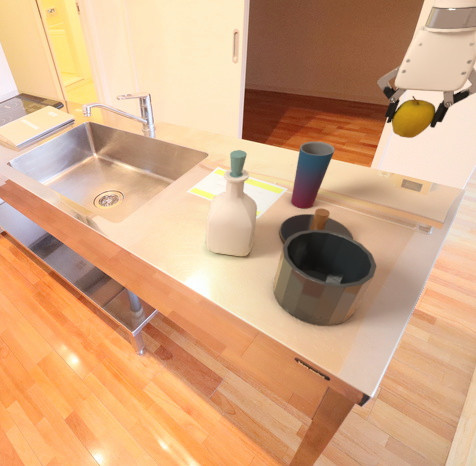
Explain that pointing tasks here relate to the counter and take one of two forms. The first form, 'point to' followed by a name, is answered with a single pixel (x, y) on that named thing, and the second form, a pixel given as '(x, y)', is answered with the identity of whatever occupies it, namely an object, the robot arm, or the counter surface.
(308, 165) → the cup
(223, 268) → the counter surface
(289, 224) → the lid
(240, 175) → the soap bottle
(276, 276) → the pot
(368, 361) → the counter surface
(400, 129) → the apple
